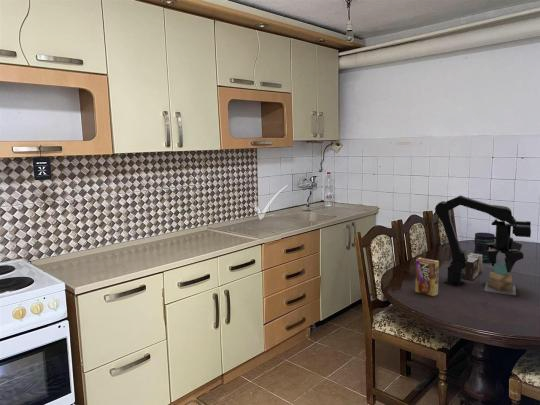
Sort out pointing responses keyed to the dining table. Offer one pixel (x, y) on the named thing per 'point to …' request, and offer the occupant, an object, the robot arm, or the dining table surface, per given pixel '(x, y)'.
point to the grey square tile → (510, 292)
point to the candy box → (427, 276)
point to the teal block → (500, 269)
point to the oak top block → (500, 277)
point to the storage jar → (479, 241)
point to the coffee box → (472, 266)
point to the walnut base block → (500, 285)
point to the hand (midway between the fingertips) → (501, 269)
